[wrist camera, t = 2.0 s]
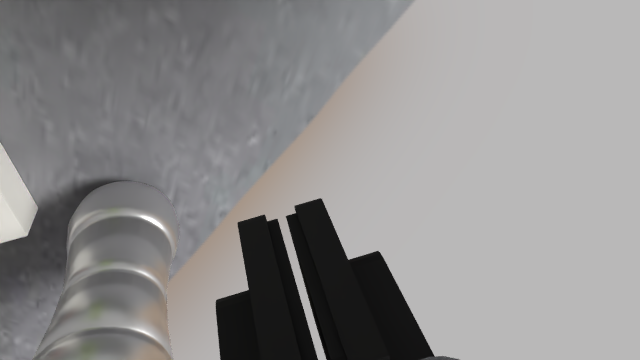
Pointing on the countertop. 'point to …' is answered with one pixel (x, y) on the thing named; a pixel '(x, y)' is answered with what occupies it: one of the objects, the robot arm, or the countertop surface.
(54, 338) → the plastic bottle
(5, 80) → the countertop surface
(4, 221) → the breaker panel
